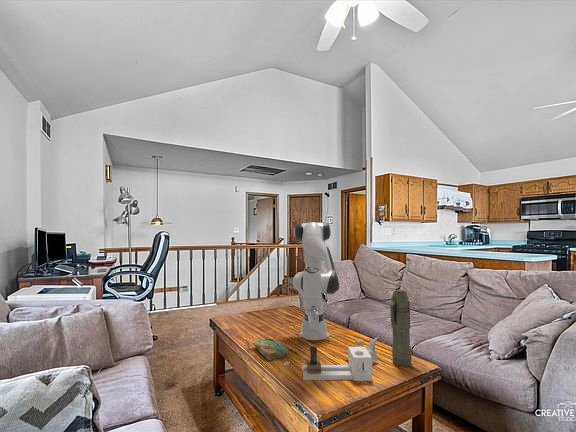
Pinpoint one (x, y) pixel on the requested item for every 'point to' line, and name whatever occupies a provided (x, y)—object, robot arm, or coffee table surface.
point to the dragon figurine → (370, 349)
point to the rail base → (346, 368)
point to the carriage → (313, 361)
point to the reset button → (359, 342)
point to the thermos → (401, 328)
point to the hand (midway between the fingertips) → (313, 334)
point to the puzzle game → (270, 348)
